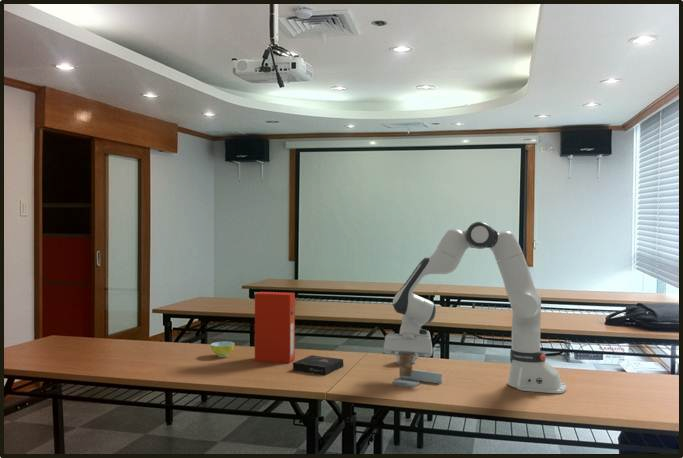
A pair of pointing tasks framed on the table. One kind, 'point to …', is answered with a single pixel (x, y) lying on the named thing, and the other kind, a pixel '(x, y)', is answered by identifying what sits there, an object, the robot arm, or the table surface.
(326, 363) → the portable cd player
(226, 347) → the bowl
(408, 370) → the walnut block
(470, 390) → the table surface
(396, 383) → the coaster
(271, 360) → the file binder
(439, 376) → the acrylic wall
